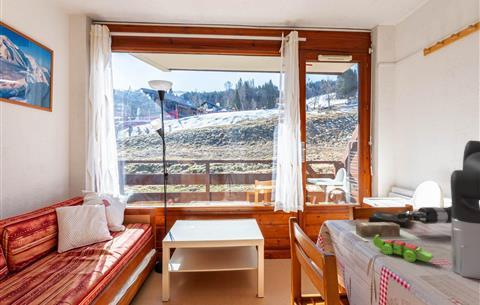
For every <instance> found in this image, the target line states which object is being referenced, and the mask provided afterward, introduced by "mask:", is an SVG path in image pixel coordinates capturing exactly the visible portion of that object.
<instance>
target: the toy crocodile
mask: <svg viewBox="0 0 480 305" xmlns="http://www.w3.org/2000/svg"><path fill="white" fill-rule="evenodd" d="M372 242H373V244H374V246H375V247H376V248H378V249H381V251H382V253H383V254H384V253H385V255H386V254H389V255H388V256H390V255H392V254H393V253H394V254H397V255H399V256H401V255H403V259H405V261H407V262H408V261H411V262H410V263H414V262H415V261H416V260H419V261H424V262H431V261H432V260H433V258H434V254H432V253H429V252H427V251H425V250H423V249H422V247H419V246H418V245H414V244H411V243H406V242H405V241H402V240H387V241H385V240H381V239H379V235H376V236H375V237H374V239H373V241H372Z"/></svg>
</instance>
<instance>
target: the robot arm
mask: <svg viewBox="0 0 480 305" xmlns="http://www.w3.org/2000/svg"><path fill="white" fill-rule="evenodd" d="M450 194H451V195H450V196H451V205H450V206H447V207H438V206H431V207H430V206H425V207H424V206H423V207H419V209H418V210H412V211H411V210H410V211H409V210H408V209H405V210H402V211H403V212H402V213H398V212H397V213H395V214H396V218H397V219H407V220H408V219H409V220H410V222H411V221H414V222H421V224H423V225H431V224H432V225H434V224H436V225H437V224H448V223H449V224H451V230H450V231H451V233H450V234H451V239H450V241H451V242H450V243H451V249H450V250H451V253H450V254H451V258H450V260H451V262H450V263H451V265H450V266H451V270H452V271H453V272H454V273H456V274H458V275H460V276H462V277H464V278H471V279H478V280H480V140H468V141H467V143H466V144H465V146H464V152H463V157H462V169H456V170H453V171H452V173H451V175H450Z"/></svg>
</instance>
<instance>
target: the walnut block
mask: <svg viewBox="0 0 480 305" xmlns="http://www.w3.org/2000/svg"><path fill="white" fill-rule="evenodd" d="M400 230H401V228H400V225H398V224H395V223H393V222H390V223H386V222H376V223H369V222H357V223H356V222H355V231H356V234H357V235H358V236H360V237H375V236H376V235H379V237H397V236H400Z"/></svg>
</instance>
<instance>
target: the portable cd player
mask: <svg viewBox="0 0 480 305" xmlns="http://www.w3.org/2000/svg"><path fill="white" fill-rule="evenodd" d="M376 222H386V223H390V222H393V223H395V224H398V225H400V229H406V228H407V227H408V225H410V223H411V220H409V219H408V220H407V219H397V218H396V213H393V212H387V211H379V210H378V211H376V212H374V213H373V214H371V215H370V216H369V217H368V222H367V223H376Z"/></svg>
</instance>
